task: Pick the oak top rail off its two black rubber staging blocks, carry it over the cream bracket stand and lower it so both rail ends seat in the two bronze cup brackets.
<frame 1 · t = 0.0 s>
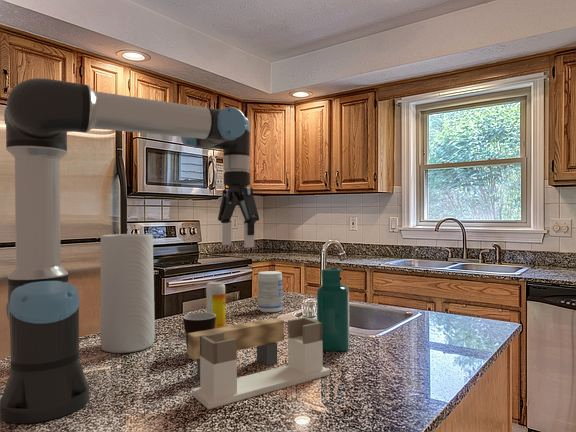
hand: (237, 246, 122), 28 cm above the counter, fingers open, 13 cm apart
green square bottle: (333, 348, 119), on the counter
supplement tub: (270, 310, 166), on the counter
staging blocks: (238, 368, 103), on the counter
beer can: (216, 329, 139), on the counter
paper towel roll: (128, 347, 121), on the counter
oak rail: (238, 347, 103), point 5 cm above the counter, touching staging blocks
bracket stand: (264, 384, 93), on the counter
coffee mug: (202, 352, 116), on the counter
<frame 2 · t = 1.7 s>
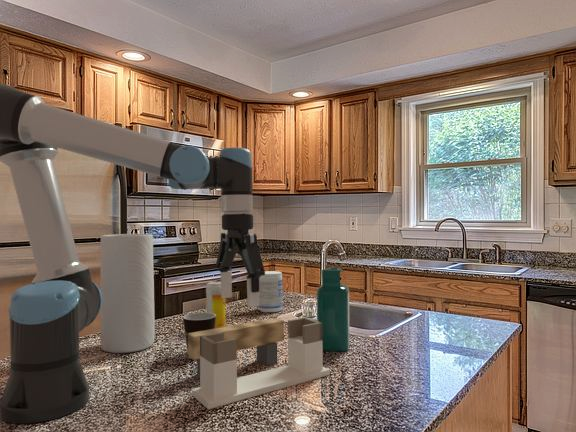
hand: (239, 301, 103), 16 cm above the counter, fingers open, 13 cm apart
nothing on the counter moved.
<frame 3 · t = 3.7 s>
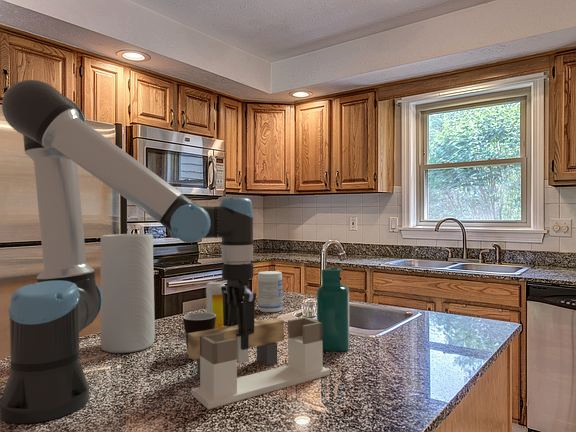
hand: (238, 359, 103), 2 cm above the counter, fingers closed on oak rail, 4 cm apart
oak rail: (238, 347, 103), point 5 cm above the counter, touching gripper, staging blocks
everything else where it was.
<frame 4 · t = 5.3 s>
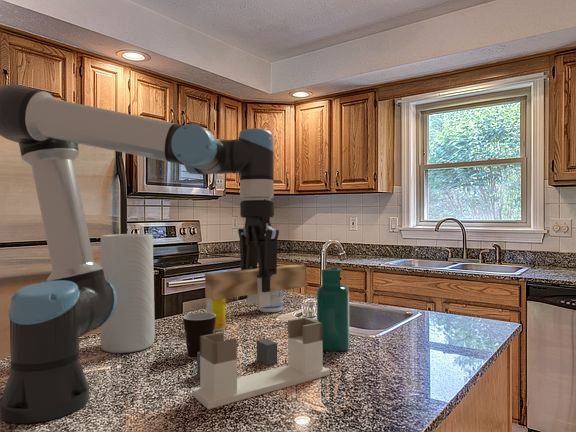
hand: (258, 304, 95), 17 cm above the counter, fingers closed on oak rail, 4 cm apart
oak rail: (258, 291, 95), point 20 cm above the counter, touching gripper
everything else where it was.
when the fingers open (6 cm above the counter, at t = 7.1 s): oak rail drops 1 cm, resting on bracket stand.
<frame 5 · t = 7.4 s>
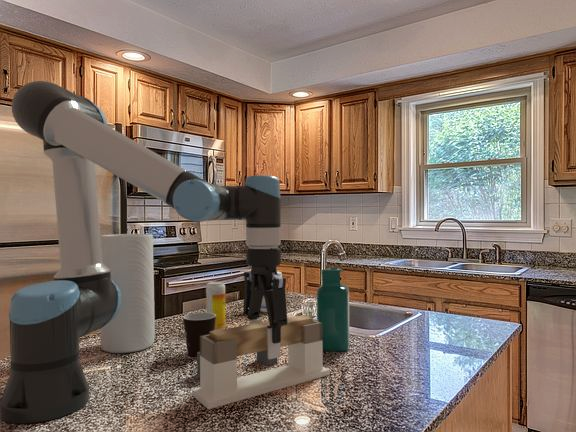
hand: (264, 352, 93), 7 cm above the counter, fingers open, 7 cm apart
oak rail: (264, 347, 93), point 8 cm above the counter, touching bracket stand
everything else where it was.
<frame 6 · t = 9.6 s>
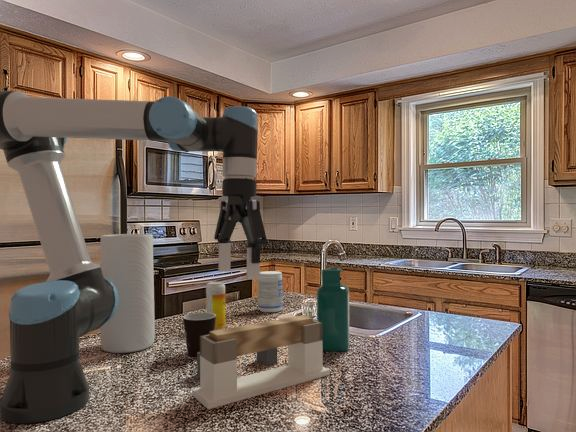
hand: (237, 275, 95), 24 cm above the counter, fingers open, 13 cm apart
nothing on the counter moved.
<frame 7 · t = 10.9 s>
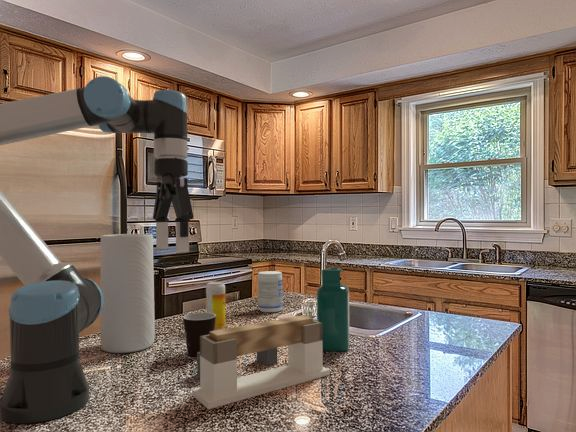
hand: (171, 250, 100), 29 cm above the counter, fingers open, 13 cm apart
nothing on the counter moved.
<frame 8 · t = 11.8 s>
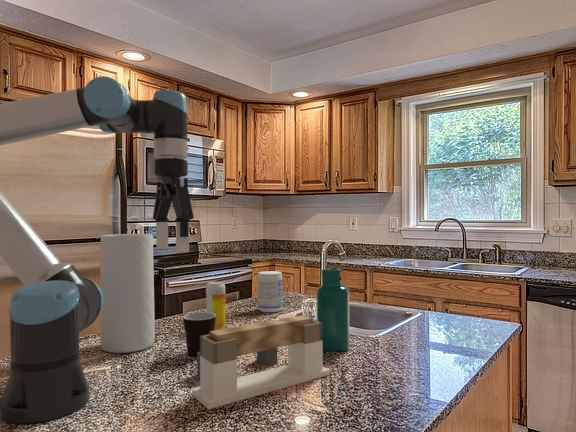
hand: (171, 250, 100), 29 cm above the counter, fingers open, 13 cm apart
nothing on the counter moved.
at the end: oak rail 0.1 cm off-centre on the bracket stand, point 8.0 cm above the bracket stand's base; oak rail tilted 0°; the gripper is holding nothing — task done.
